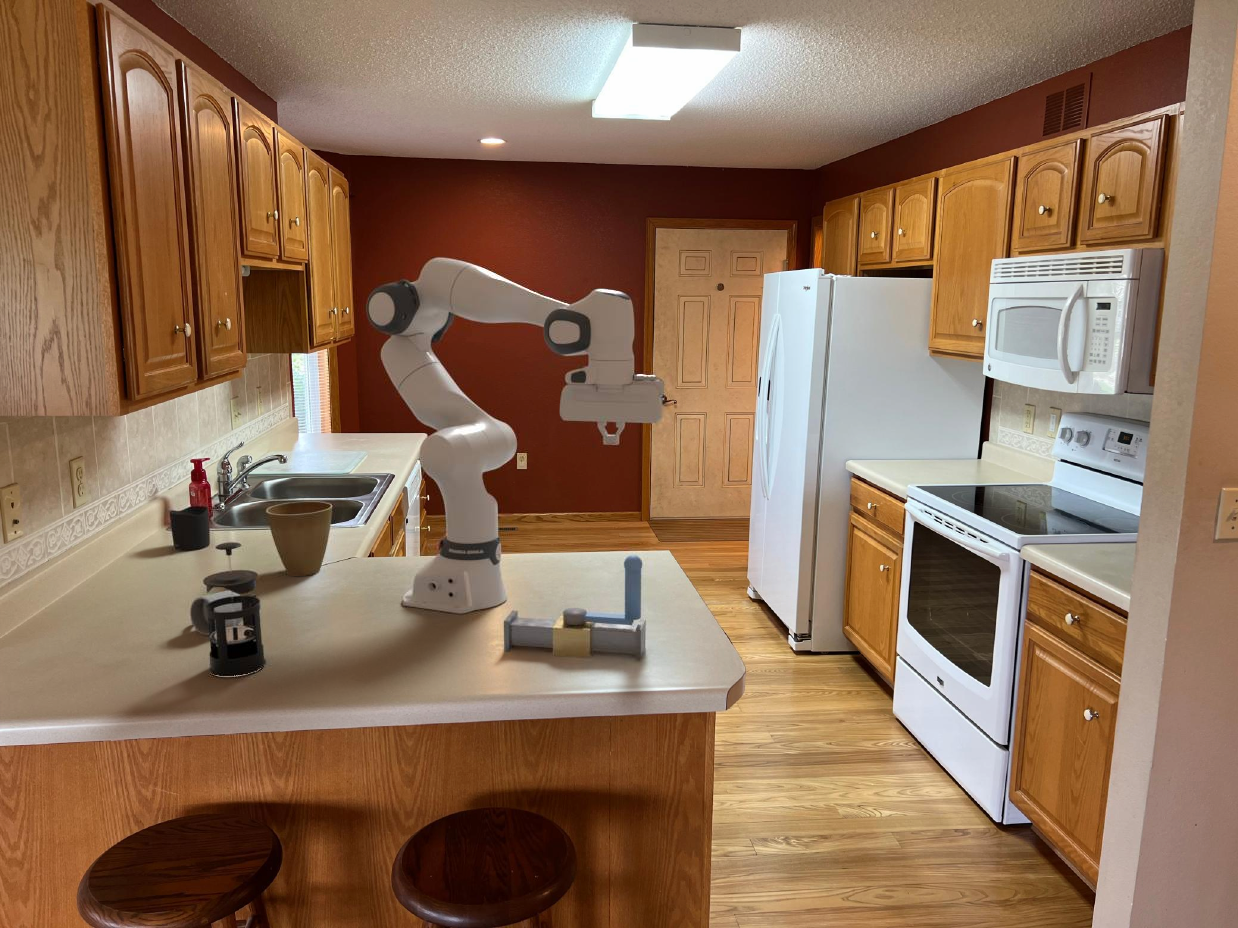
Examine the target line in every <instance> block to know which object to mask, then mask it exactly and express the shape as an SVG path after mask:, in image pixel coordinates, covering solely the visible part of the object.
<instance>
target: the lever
mask: <svg viewBox="0 0 1238 928" xmlns="http://www.w3.org/2000/svg"><path fill="white" fill-rule="evenodd" d="M623 567H624V614H618V613H604V612H590V611H589V612H587V610H586V608H585V609H584V608H581V607H570V608H566V609H564V610H563V611H562V613H563V615H562V616H563V622H564V623H565V624H568V625H581V624H584V623H586V622H591V623H605V624H620V625H634V621H637V620H640V618H641V617H642V569H643V560H642V559H641V558H640V556H638V555H636V554H633V555H632V554H630V555H628V556H626V558H625V559H624V562H623ZM641 619H642V618H641Z"/></svg>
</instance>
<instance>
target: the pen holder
mask: <svg viewBox="0 0 1238 928" xmlns="http://www.w3.org/2000/svg"><path fill="white" fill-rule="evenodd" d="M209 509H210V508H209V507H208V506H205V505H191V506H188V507H185V508H184V509H181V510H180V509H179V510H174V509H171V510H169V511H168V513H169V522H170V528H171V534H172V536H171V537H172V543H173V548H174V549H176V550H177V551H181V552H182V551H185V552H186V551H197V550H202V549H204V548H207V547H209V546H210V544H211V535H210V534H211V531H210V528H211V527H210V510H209Z"/></svg>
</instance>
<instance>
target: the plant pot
mask: <svg viewBox="0 0 1238 928" xmlns="http://www.w3.org/2000/svg"><path fill="white" fill-rule="evenodd" d="M265 513H266V517H267V520H268V525H269V528H270V529H269V530H270V533H271V536H272V539H273V543H274V546H275V548H276V551H277V553H278V556H279V558H280V560H281V562H282V564H283V567H284V569H285V571H286V574H288V575H289V576H293V577H304V576H305V577H306V576H312V575H315V574H317V573H319V572H320V571H321V568H322V565H323V561H324V559H325V555H326V551H327V546H328V543H329V538H330V537H329V536H330V531H331V523H332V516H333V515H332V514H333V505H332V504H331V502H325V501H316V500H315V501H314V500H311V501H310V500H309V501H304V500H303V501H292V502H285V503H280V504H275V505H272V506H270V507H268V508H267V509H265Z"/></svg>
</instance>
